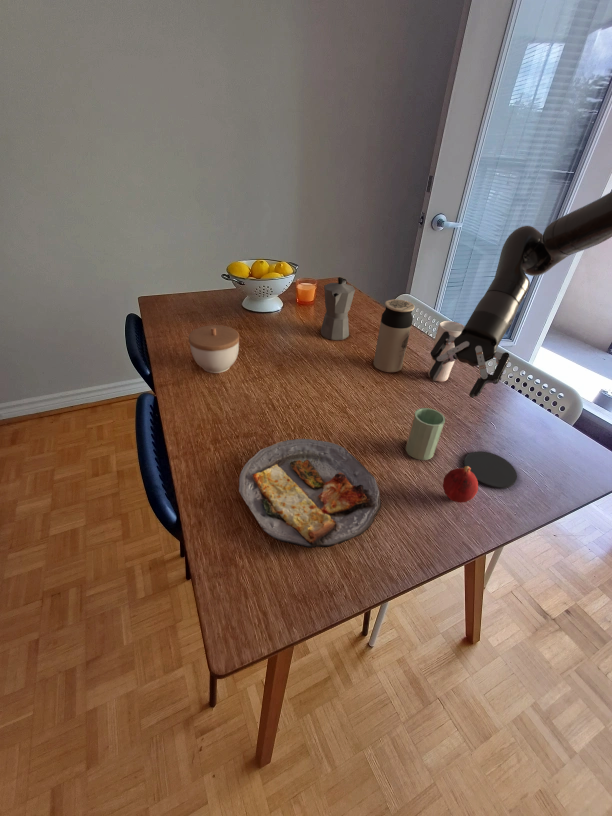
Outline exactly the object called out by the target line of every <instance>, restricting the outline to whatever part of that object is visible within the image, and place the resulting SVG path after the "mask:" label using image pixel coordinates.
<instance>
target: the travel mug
mask: <svg viewBox="0 0 612 816" xmlns="http://www.w3.org/2000/svg"><path fill="white" fill-rule="evenodd" d="M384 306H385V310H384V311H383V312H382V313H381V319H380V324H379V329H378V334H377V341H376V347H375V352H374V357H373V366H374V368H375V369H377V370H379V371H382V372H384V373H396V372H397V373H398V372H400V371H401V370H402V369H403V364H404V360H405V356H406V352H407V347H408V343H409V338H410V333H411V330H412V325H413V321H414V318H413V311H414V310H415V308H416V307H415V305H414V303H412V302H410V301H407V300H404V299H398V298H396V299H395V298H394V299H388V300H386V301H385V302H384Z"/></svg>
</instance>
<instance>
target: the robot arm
mask: <svg viewBox="0 0 612 816" xmlns="http://www.w3.org/2000/svg"><path fill="white" fill-rule="evenodd" d="M609 239H612V191H609V192H608V193H607V194H604V195H603V196H601V197H599V198H598V199H595V200H593V201H591V202H589V203H587V204H586V205H583V206H581V207H579V208H577V209H575V210H573V211H571V212H569V213H567V214H565V215H563V216H561V217H559V218H557V219H555V220H554V221H552V222H550V223H549V224H548V225H547V226H546V228H545V229H544V231H543V233H541V232H540V231H539V230H538V229H536V228H535V227H534V226H531V225H522V226H520V227H518V228H516V229H514V230H513V231H511V233H510V234H509V235H508V237H507V238H506V240H505V241H504V244H503V245H502V248H501V252H500V255H499V260H498V264H497V267H496V271H495V275H494V278H493V280H492V281H491V283H490V284H489V286H488V288H487V290H486V292H485V294H484V295H483V296H482V298H481V299H480V300H479V302H478V303H477V305H476V306H475V308H474V310H473V311H472V313H471V315H470V317H469V318H468V320H467V322H466V323H465V325H464V326H465V327H464V329H463V331H462V332H461V334H460V335H459V336H458V337H454V336H452V335H449V332H447V331H445V332H444V333H443V334H442V336H441V337H440V339H439V340H438V342H437V343H436V345H435V346H434V345H433V347H434V348H432V349H431V351H430V353H429V354H430V356H431V359H433V360H435V364H434V365H433V367H432V369H431V370H430V372H429V371H428V373H429V375H430V377H429V379H430V381H431V382H436V381H435V380H436V378H437V377H438V375H439V373H440V371H441V370H442V368H443V366H442V365H444V364H446V363H449V362H453V361H455V362H456V361H457V360H458V362H460V363H463V364H467V365H469V366H471V367H472V368H474V367H478V371H479V375H480V377H478V378H477V379H476V381H475V382H474V385H473V387H472V388H471V390H470V392H469V394H468V396H469V398H471V399H474V398H475V397H476V398H478V396H480V395H481V393H482V391H483V389H484V388H485V386H486V385H487V384H493V385H497V384H499V383H500V380H501V378H502V376H503V374H504V372H505V371H506V368H507V366H508V364H509V362H510V353H509V352H499V351H497V349H498V347H499V345H500V343H501V341H502V340H503V338H504V336H505V334H506V333H507V331H508V329H509V328H510V327H511V325H512V323H513V321H514V319H515V317H516V314H517V312H518V309H519V307H520V306H521V305H522V302H523V301H524V299H525V297H526V296H527V294H528V292H529V291H530V287H531V282H530V279H529V277H528V276H532V277H537V276H538V277H539V276H542V275H544V274H546V273H547V272H549V271H550V270H551V269H552V268H554V267H555V266H556V265H558V264H559V263H561V262H562V261H563V260H565V259H566V258H568V257H569V256H572V255H575V254H577V253H580V252H582V251H585V250H587V249H590V248H594V247H595V246H597V245H600V244H602V243H604V242H606V241H607V240H609ZM451 343H454V345H455V347H454V348H452V349H450V350H448V351H447V352H446V353H444V354H442V355H440V354H441V353H442V351H443V350H444V348H445V347H446V345H450V344H451ZM494 358H495V364H497V365H496V366H495V368H494V371H493V373H492V374H489V373H488V370H487V365H486V363H487V362H489V361H491V360H492V359H494ZM429 375H428V376H429Z"/></svg>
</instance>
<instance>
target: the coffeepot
mask: <svg viewBox="0 0 612 816" xmlns="http://www.w3.org/2000/svg"><path fill="white" fill-rule="evenodd" d="M323 289H324V305H325V306H324V307H325V313H324V316H323V320H322V324H321V327H320V335H321V336H322V337H323V338H325V339H328V340H332V341H343V340H346V339H347V338H348V337H350V329H349V328H350V327H349V326H350V325H349V316H348V314H349V311H350V310H351V307H352V303H353V299H354V296H355V292H356V289H355V287H354V286H353V285H351V284H348V281H347V279H346V278H343V277H342V276H341V277H337V282H330V283H327V284H325V285H324V288H323Z"/></svg>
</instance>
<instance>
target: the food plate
mask: <svg viewBox="0 0 612 816" xmlns="http://www.w3.org/2000/svg"><path fill="white" fill-rule="evenodd" d="M379 488H380V487H379V484H378V482H377V479H376V478H375V476H374V475H373V474H372V473H371V472H370V471H369V469H367V468H366V467H365V466H364V465H363V464H362V463H361V462H360V461H359V459H357V458H356V457H355V456H354V455H353V454H352V453H351V452H349V450H347V449H346V448H345V447H343V446H342V445H339V444H338V443H334V442H329V441H324V440H317V439H312V438H294V439H286V440H282V441H279V442H277V443H274V444H272V445H269V446H267V447H264V448H261V449H260V450H258V451H257V452H256V453H255V454H254V455H253V456H252V457H251V458H249V459H248V461H247V462H246V463H245V464H244V466H243V467H242V469H241V471H240V474H239V478H238V493H239V494H240V496H241V497H242V499H243V501H244V502H245V504H246V505H247V507H248V509H249V510H250V512H251V514H252V515H253V516H254V518H255V520H256V521H257V523H258V524H259V526H260V527H261V529H262V531H263V532H265V533H266V534H267V535H269V537H271V538H273V539H274V540H276V541H278V542H281V543H284V544H285V543H286V544H289V545H290V544H291V545H294V546H298V547H304V548H307V549H313V548H329V547H334V546H336V545H340V544H342V543H345V542H348V541H351V540H352V539H356V538H357V537H359V536H362V535H363V534H364V533H366V531H368V530H369V529H370V528H371V527H372V525H373V524H374V522H375V519H376V517H377V515H378V513H379V512H380V510H381V508H382V499H381V491H380V489H379Z"/></svg>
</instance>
